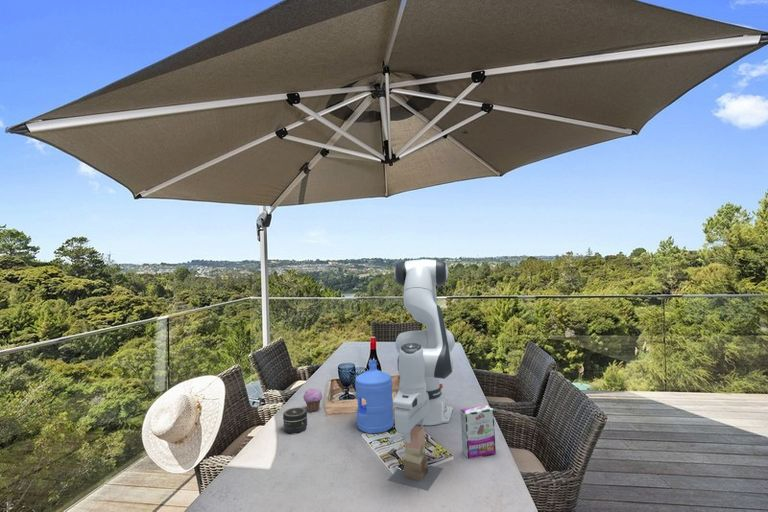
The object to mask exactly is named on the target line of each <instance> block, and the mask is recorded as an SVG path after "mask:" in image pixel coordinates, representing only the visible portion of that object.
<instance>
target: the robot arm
mask: <svg viewBox="0 0 768 512" xmlns="http://www.w3.org/2000/svg"><path fill="white" fill-rule="evenodd" d="M393 273H394V275H393V276H394V279H395V282H396V283H397V284H398V285H399V286H401V287H402V286H403V297H402V300H403V306H404V308H405V310H406V311H407V312H408V313H409V314H410V315H411V316H412V318H413V320H415V321H416V322H418V323H420V324H423V325H425V329H423V330H419V329H417V330H409V331H404V332H400V333H399V334H398V335H397V336H396V339H395V349H396V352H397V353H398V356H397V371H398V376H399V383H398V388H399V389H398V391H397V394H396V396H395V397H394V399H393V408H395V409H394V427H395V431H396V432H397V433H398V434H403V436H404V443H405V442H407V443H410V442H411V441H412V436H410V430H411V429H412V428H413V427H414V426H419V427H424V426H436V425H441V424H448V423H449V422H450V420H451V416H452V414H453V410H454V408H453V407H452V406H449V405H448V398H447V397H446V396H445V395H443V392H442V389H443V387H444V385H443V383H440V379H446V378H447V377H449V376H450V375H451V374H452V373H453V369H454V360H453V356H452V353H451V352H452V351H453V349H454V347H455V343H456V341H455V337H454V334H453V333H452V332H451V331H450V330H449V329H448V328H447V327H446V323H445V319H444V314H443V311H442V310H443V309H442V308H441V306H440V305H439V304H438V299H437V298H438V297H437V295H438V294H437V287H438V288H439V287H440V286H443V285H444V284H445V283H446V282H447V280H448V277H449V273H450V271H449V267H448V265H447V263H446V261H444V260H443V259H442V260H441V259H429V258H428V259H425V258H421V259H413V260H412V259H411V260H401V261H398V262H397V263H396V265H395V268H394V271H393ZM436 286H437V287H436Z"/></svg>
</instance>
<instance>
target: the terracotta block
mask: <svg viewBox="0 0 768 512" xmlns="http://www.w3.org/2000/svg"><path fill="white" fill-rule="evenodd" d="M410 436H412V441H411V442H410V443H407V442H405V441H404V447H405V446H407V447H411V448H416V449H420V447H421V446H422V445H423V444H424V443H426V438H425V437H426V435H425V427H424V426H423V427H419V426H417V425H415V426H414V427H413V428H412V429H411V430H410Z"/></svg>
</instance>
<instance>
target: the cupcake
mask: <svg viewBox="0 0 768 512" xmlns="http://www.w3.org/2000/svg"><path fill="white" fill-rule="evenodd" d="M322 399H323V394H322V391H321V390H320V389H319V388H309V389H308V388H307V390H306V391H305V392H304V394H303V401H304V402H305V403H306V407H307V410H308V411H309V412H310V413H313V412H316V411H318V410H319V409H320V403H321V401H322Z"/></svg>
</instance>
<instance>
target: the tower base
mask: <svg viewBox="0 0 768 512" xmlns="http://www.w3.org/2000/svg"><path fill="white" fill-rule="evenodd" d="M402 464H403V465H404V477H407V478H411V479H415V480H419V481H421V480H422V479H423V477H424V476H425V475H426V474H427V472H428V465H429V464H428V456H426V455H425V458H424V460H423V461H422V462H421V463H420V464H415V463H411V462H406V461H405V459H404V460H403V462H402Z"/></svg>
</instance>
